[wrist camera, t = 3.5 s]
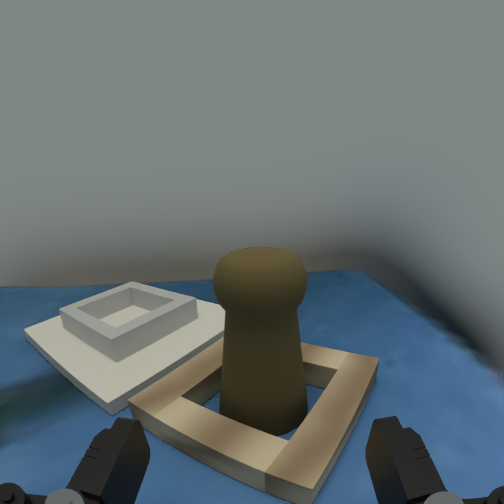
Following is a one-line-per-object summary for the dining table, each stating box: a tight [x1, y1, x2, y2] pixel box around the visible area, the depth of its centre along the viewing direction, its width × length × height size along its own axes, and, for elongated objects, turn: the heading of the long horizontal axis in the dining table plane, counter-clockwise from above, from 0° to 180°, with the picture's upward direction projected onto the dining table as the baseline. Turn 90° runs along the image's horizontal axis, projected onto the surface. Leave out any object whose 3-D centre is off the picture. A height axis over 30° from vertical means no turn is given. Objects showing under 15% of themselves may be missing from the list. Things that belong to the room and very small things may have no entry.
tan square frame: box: [127, 337, 380, 504], centre depth 20 cm, size 13×13×2 cm
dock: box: [24, 281, 225, 416], centre depth 30 cm, size 18×18×3 cm
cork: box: [213, 247, 308, 436], centre depth 19 cm, size 6×6×11 cm
